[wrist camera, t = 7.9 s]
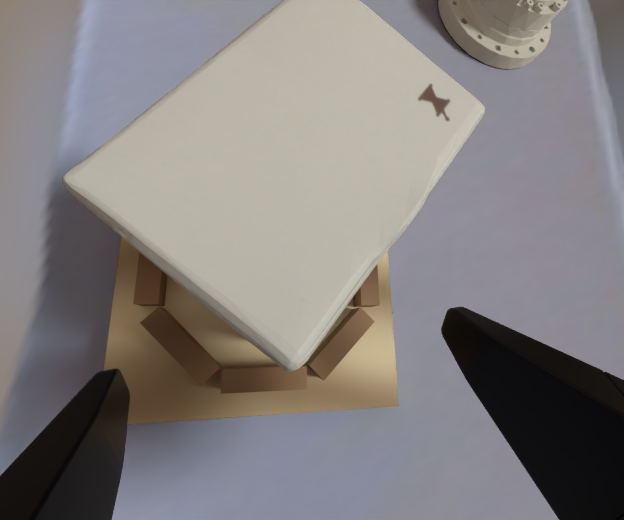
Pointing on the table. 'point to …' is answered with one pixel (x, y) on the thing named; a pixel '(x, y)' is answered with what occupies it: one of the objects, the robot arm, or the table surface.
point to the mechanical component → (500, 28)
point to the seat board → (240, 354)
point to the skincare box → (283, 169)
